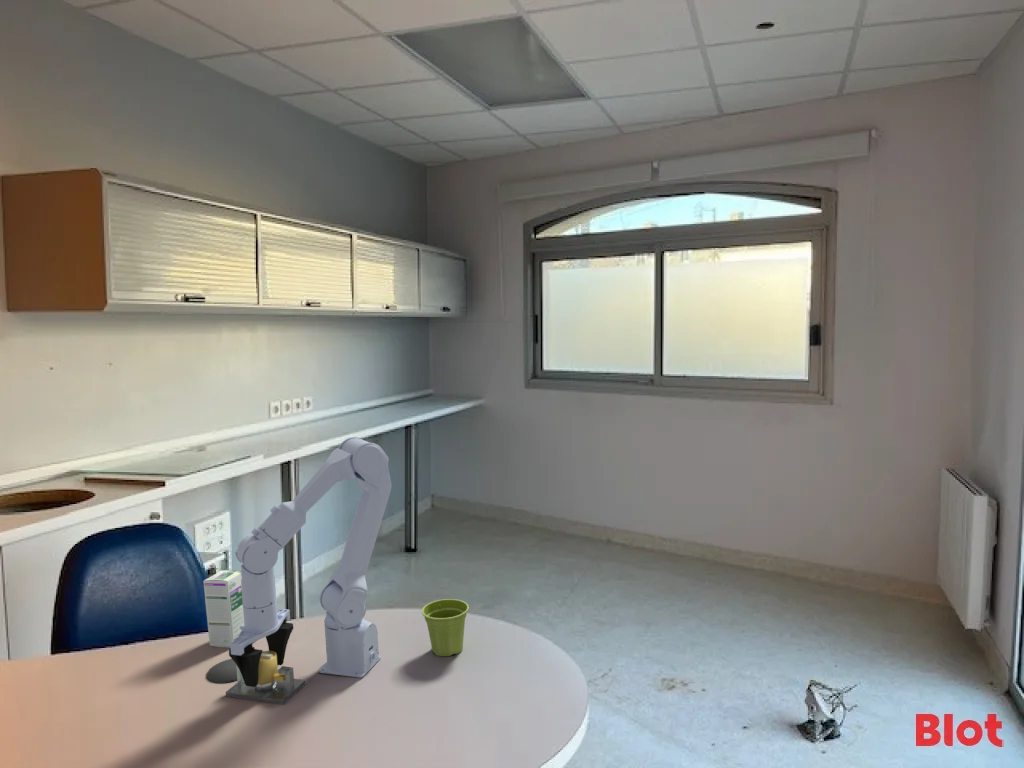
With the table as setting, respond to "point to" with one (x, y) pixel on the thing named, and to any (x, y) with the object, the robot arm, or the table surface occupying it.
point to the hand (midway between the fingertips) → (264, 674)
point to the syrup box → (224, 607)
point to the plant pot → (446, 625)
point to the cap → (269, 668)
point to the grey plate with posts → (268, 688)
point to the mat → (223, 672)
